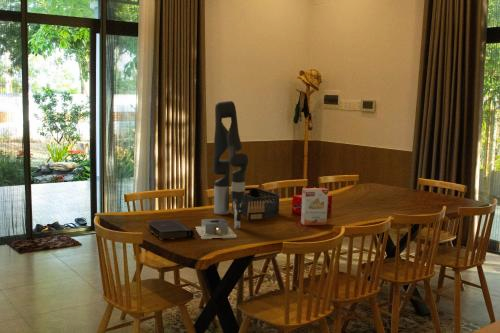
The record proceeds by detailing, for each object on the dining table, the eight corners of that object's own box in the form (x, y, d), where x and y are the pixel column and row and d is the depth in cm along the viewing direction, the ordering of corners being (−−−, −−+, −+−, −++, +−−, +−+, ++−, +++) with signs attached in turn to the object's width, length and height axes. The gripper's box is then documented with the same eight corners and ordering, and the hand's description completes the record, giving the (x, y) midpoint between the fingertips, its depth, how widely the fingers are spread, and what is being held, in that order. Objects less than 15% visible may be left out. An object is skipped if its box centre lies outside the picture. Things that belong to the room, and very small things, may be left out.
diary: (178, 227, 313) (178, 218, 313) (194, 238, 291) (194, 229, 291) (145, 230, 305) (145, 221, 304) (159, 241, 283) (159, 231, 282)
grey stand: (195, 228, 309) (195, 218, 308) (227, 227, 313) (227, 217, 312) (202, 239, 288) (202, 228, 287) (236, 237, 292) (236, 227, 291)
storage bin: (281, 216, 346) (281, 194, 344) (255, 219, 335) (255, 197, 333) (254, 207, 369) (255, 187, 367) (229, 210, 358) (230, 189, 357)
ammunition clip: (247, 221, 329) (248, 201, 327) (246, 220, 331) (247, 200, 329) (264, 220, 333) (265, 200, 331) (263, 219, 334) (264, 199, 333)
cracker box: (304, 226, 321) (305, 189, 318) (300, 223, 327) (301, 188, 324) (327, 225, 325) (328, 189, 322) (323, 222, 331) (324, 187, 328)
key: (232, 227, 314) (233, 205, 312) (239, 227, 315) (240, 205, 313) (234, 229, 310) (234, 206, 308) (241, 228, 311) (242, 206, 309)
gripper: (228, 187, 315) (227, 217, 318) (234, 192, 302) (233, 223, 304) (241, 187, 317) (240, 216, 320) (247, 192, 304) (247, 222, 306)
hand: (237, 219), depth 312 cm, fingers open, 6 cm apart
